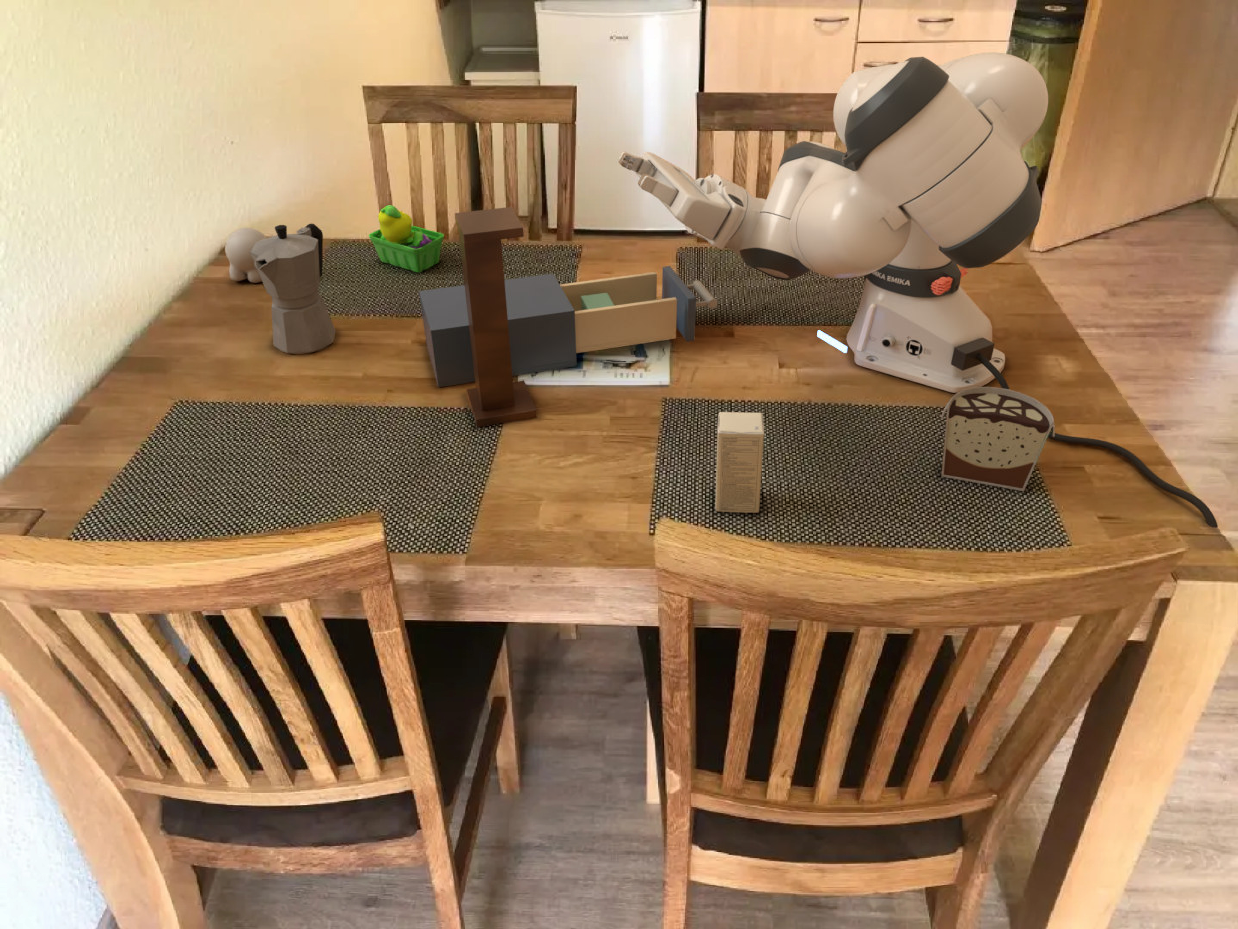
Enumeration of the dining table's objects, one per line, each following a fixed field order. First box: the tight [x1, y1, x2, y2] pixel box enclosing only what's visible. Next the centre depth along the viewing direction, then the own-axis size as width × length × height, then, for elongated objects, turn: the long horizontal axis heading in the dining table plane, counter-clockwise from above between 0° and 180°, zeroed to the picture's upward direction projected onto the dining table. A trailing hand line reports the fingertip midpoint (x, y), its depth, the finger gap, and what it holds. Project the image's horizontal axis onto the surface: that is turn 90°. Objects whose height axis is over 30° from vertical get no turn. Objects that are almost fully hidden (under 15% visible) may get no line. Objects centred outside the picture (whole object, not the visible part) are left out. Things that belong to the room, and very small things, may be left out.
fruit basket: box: [368, 204, 445, 274], centre depth 166 cm, size 11×9×11 cm
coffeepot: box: [251, 223, 337, 355], centre depth 142 cm, size 15×9×18 cm, turn 162°
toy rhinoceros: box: [224, 227, 268, 284], centre depth 162 cm, size 7×12×8 cm, turn 82°
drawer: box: [559, 265, 718, 354], centre depth 144 cm, size 23×12×7 cm, turn 106°
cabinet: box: [418, 273, 578, 388], centre depth 140 cm, size 20×13×9 cm, turn 106°
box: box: [714, 411, 765, 514], centre depth 110 cm, size 5×4×11 cm
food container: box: [940, 386, 1056, 492], centre depth 115 cm, size 12×6×10 cm, turn 71°
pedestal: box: [454, 206, 538, 428], centre depth 123 cm, size 8×8×26 cm
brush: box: [581, 293, 614, 310], centre depth 144 cm, size 12×5×4 cm, turn 104°
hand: (631, 168), depth 132 cm, fingers open, 8 cm apart
